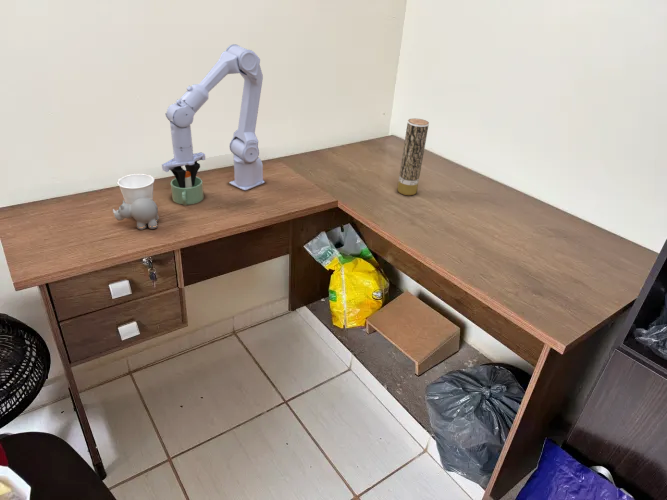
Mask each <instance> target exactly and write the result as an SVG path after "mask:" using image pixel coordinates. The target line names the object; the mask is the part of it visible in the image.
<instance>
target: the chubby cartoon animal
mask: <svg viewBox="0 0 667 500" xmlns="http://www.w3.org/2000/svg"><path fill="white" fill-rule="evenodd" d="M158 207H159V206H158V205H157V203H156V202H155V200H154V199H153V200H152V199H150V198H146V197H142V198H138V199H136V200H135V201H134V202H133V203H132V204H131V205H130V204H126V202H125V200H124V199H122V204H120V205H119V207H118V209H116V210H115V208H112V213H113V216H114V218H115V220H117V221H123V220H125V219H131V218H133V219H134V220H135V221H136V228H137V230H141V231H142V230H146V229H147V227H148V228H149V230H155V229H157V228H158V227H159V224H158V222H159V220H160V216H159V208H158ZM158 219H159V220H158ZM156 220H157V221H156ZM157 224H158V225H157ZM145 225H146V226H145ZM156 225H157V226H156ZM137 226H138V227H137ZM143 226H145V227H143ZM149 226H151V227H149ZM153 226H156V227H153ZM139 227H143V228H139Z"/></svg>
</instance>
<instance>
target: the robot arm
mask: <svg viewBox="0 0 667 500" xmlns="http://www.w3.org/2000/svg"><path fill="white" fill-rule="evenodd" d="M260 63H261V59H260V57H259V56H258V55H257V53H256V52H255V51H253V50H252V49H247V48H245V47H243V46H241V45H238V44H234V43H233V44H229V45H228V46H227V48H226V49H225V50H224V51H223V52H222V53H221V54H220V57H219V58H218V60H217V61H216V63H215V64H214V65H213V66H212V67H211V69H210V70H209V71H208V73H207V74H206V75H205V76H204V78H202V80H201V81H200V82H199V83H193V84H192V85H191V86H190V85H188V86H187V87H186V91H185V92H184V94H183V95H182V96H180V98H179V99H178V98H177V99H176V100H175V102H174V103H172V104H169V106H168V107H167V109H166V112H165V117H166V119H167V120H168V121H169V124H170V136H171V137H170V138H171V145H172V152H173V153H172V154H173V158H171V159H170V160H168V161H166V162H165V163H164V162H163V163H162V164H161V169H162V171H163V172H165V173H168V172H171V173H172V174H173V176H174V178H176V179H177V182H178V184H179V187H180V188H185V173H186V171H189V172H190V173H191V181H192V186H194V184H195V178H196V177H197V174H198V173H199V172H198V171H199V170H200V169H201V164H200V163H199V161H205V160H206V153H204V152H197V153H194V147H193V137H192V128H191V125H192V124H193V122H194V116H195V115H196V113H197V112H198V111H199V110H200V109H201V108H203V106H204V105H205V104H206V102H207V101H208V100H209V93H210V92H211V91H212V90H213V89H214V88H215V87H217V85H218V84H219V83H220V82H221V81H222V80H224V78H225V77H226V76H228V75H235V74H239V75H240V76H241V77H242V78H243V87H242V96H241V104H240V112H239V118H238V126H237V130H235V131H234V132H233V135H232V138H231V140H230V142H229V151H230V152H231V154H233V174H234V180H231V181H229V185H230V186H231V185H232V186H234V187H235V188H238V189H240V190H243V191H248V190H250V189H253V188H255V187H258V186H260V185H263V184H265V180H264V164H263V162H262V160H261V158H260V157H259V156H260V148H259V140H258V136H257V135H256V128H257V122H258V121H257V120H258V113H259V108H260V107H259V106H260V100H261V93H262V86H263V79H264V76H263V72H262V68H261V64H260ZM183 166H184V168H185V169H184V168H183Z"/></svg>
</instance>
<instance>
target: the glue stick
mask: <svg viewBox="0 0 667 500" xmlns="http://www.w3.org/2000/svg"><path fill="white" fill-rule="evenodd" d="M191 187H192V181H191V173H190V172H189V171H186V173H185V188H191Z"/></svg>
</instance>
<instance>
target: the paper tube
mask: <svg viewBox="0 0 667 500" xmlns="http://www.w3.org/2000/svg"><path fill="white" fill-rule="evenodd" d="M429 125H430V122H429V120H426V119H423V118H409V119H408V120H407V124H406V131H405V137H404V144H403V150H402V157H401V163H400V170H399V176H398V183H397V192H398V193H399V194H401V195H404V196H414V195H415V194H417V192H418V187H419V182H420V176H421V171H422V165H423V160H424V154H425V148H426V142H427V137H428V132H429Z"/></svg>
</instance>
